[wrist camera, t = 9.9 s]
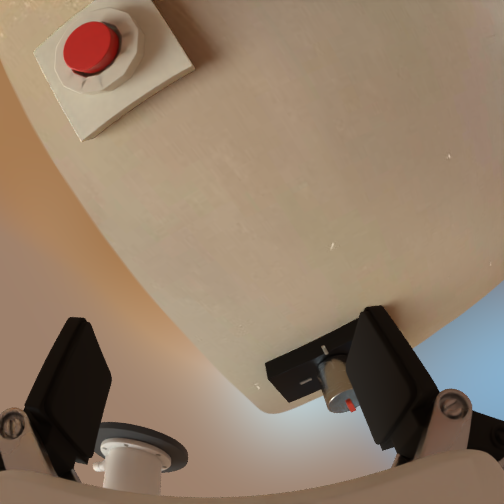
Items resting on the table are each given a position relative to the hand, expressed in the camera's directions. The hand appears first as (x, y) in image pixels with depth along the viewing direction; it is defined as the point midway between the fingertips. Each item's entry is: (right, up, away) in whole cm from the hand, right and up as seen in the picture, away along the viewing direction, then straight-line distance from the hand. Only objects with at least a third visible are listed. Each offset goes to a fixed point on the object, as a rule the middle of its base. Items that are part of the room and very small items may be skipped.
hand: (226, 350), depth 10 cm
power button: (-10, +17, +5) cm, 20 cm away
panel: (+10, -9, +24) cm, 27 cm away
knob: (+10, -10, +21) cm, 26 cm away
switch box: (-10, +19, +8) cm, 23 cm away
